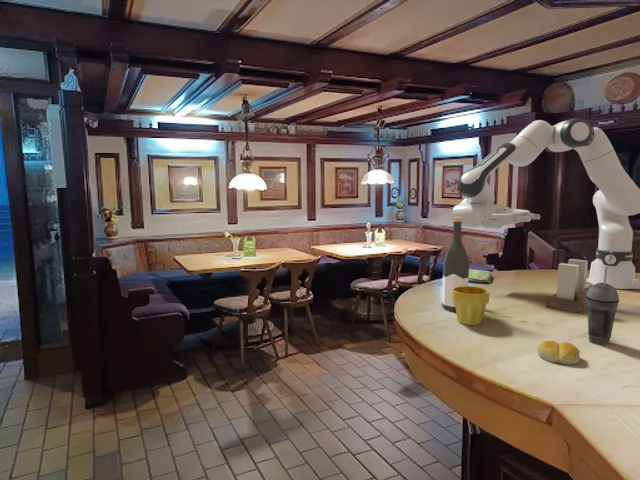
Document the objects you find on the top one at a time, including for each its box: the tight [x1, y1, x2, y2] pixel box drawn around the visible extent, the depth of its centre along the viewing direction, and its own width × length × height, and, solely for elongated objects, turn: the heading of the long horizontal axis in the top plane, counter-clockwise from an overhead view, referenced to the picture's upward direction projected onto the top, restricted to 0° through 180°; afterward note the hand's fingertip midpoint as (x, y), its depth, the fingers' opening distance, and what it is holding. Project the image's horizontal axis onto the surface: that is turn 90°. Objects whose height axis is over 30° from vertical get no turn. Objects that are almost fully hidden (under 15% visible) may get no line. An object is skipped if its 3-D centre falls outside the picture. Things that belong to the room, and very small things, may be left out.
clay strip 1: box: [555, 262, 579, 301], centre depth 140 cm, size 3×5×14 cm, turn 46°
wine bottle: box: [441, 217, 470, 312], centre depth 145 cm, size 8×8×30 cm
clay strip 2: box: [567, 258, 589, 293], centre depth 148 cm, size 3×5×14 cm, turn 46°
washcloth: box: [468, 268, 492, 284], centre depth 191 cm, size 13×18×3 cm
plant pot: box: [452, 285, 490, 326], centre depth 133 cm, size 10×10×10 cm
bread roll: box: [536, 340, 580, 365], centre depth 106 cm, size 8×9×4 cm
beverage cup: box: [586, 267, 620, 346], centre depth 115 cm, size 7×7×20 cm
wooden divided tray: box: [545, 284, 593, 315], centre depth 145 cm, size 16×10×8 cm, turn 136°
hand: (534, 218), depth 156 cm, fingers open, 8 cm apart
